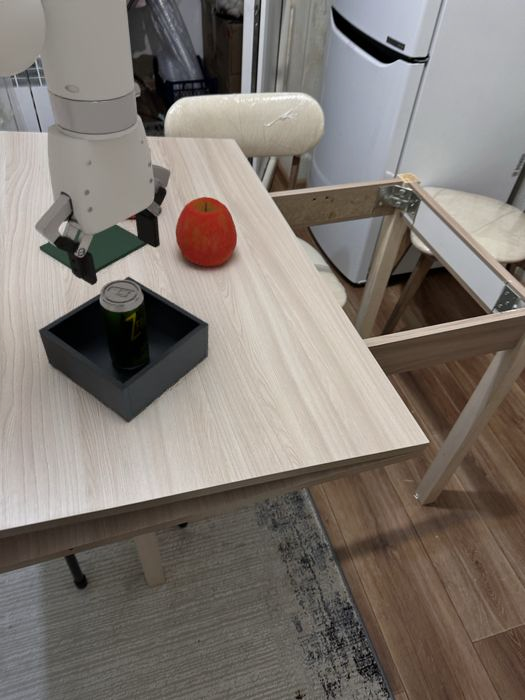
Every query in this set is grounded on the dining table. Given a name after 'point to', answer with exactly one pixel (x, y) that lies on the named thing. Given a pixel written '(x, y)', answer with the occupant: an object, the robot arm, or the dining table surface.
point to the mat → (101, 247)
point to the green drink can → (125, 323)
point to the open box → (111, 381)
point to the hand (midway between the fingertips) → (119, 259)
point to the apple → (206, 232)
